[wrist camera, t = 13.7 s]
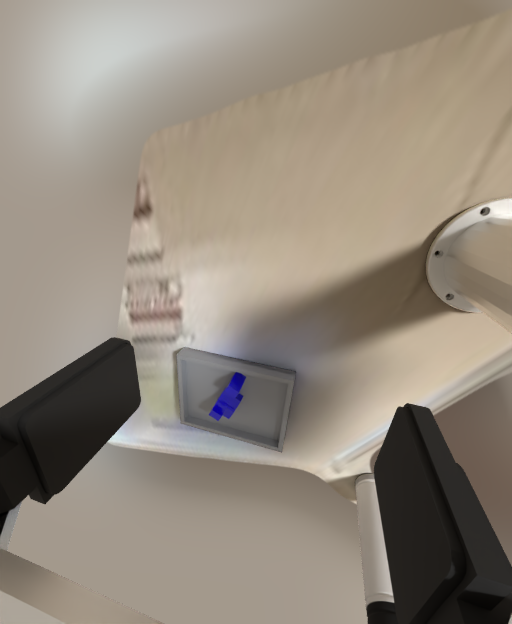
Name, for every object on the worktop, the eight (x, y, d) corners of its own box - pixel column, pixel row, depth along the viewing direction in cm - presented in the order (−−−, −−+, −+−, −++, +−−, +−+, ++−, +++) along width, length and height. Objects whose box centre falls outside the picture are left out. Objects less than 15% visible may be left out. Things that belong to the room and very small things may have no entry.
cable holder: (233, 409, 47) (225, 426, 44) (217, 398, 47) (208, 414, 44) (254, 381, 44) (247, 397, 40) (236, 370, 44) (228, 385, 40)
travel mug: (347, 486, 49) (357, 649, 31) (366, 467, 46) (389, 635, 28) (378, 502, 48) (406, 677, 31) (399, 484, 45) (444, 666, 28)
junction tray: (296, 371, 42) (294, 381, 40) (284, 440, 48) (281, 452, 46) (183, 346, 46) (176, 354, 44) (187, 414, 53) (180, 423, 50)
